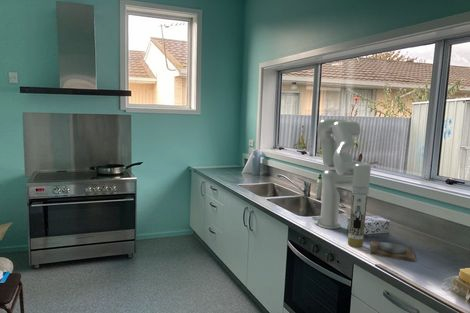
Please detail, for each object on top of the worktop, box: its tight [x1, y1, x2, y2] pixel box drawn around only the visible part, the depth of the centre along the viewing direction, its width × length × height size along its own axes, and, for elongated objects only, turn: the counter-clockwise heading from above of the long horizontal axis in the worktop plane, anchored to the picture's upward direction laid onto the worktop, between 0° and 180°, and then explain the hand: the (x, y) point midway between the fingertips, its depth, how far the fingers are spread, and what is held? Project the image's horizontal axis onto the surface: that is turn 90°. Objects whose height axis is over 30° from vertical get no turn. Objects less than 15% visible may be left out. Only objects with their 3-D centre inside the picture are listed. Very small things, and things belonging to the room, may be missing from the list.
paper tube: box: [347, 192, 368, 248], centre depth 172 cm, size 7×7×25 cm
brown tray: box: [370, 240, 416, 263], centre depth 166 cm, size 18×15×2 cm
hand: (357, 225), depth 172 cm, fingers open, 9 cm apart
